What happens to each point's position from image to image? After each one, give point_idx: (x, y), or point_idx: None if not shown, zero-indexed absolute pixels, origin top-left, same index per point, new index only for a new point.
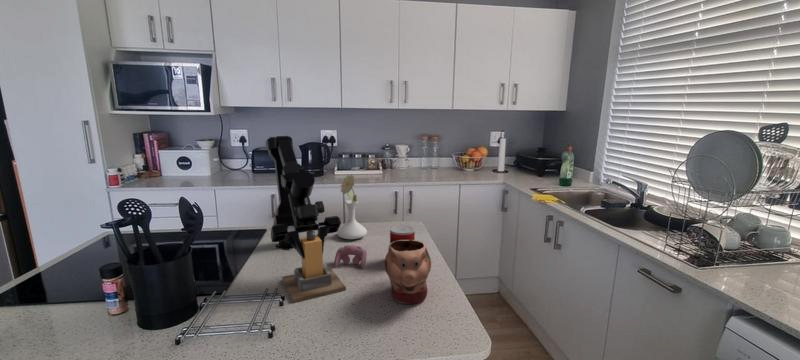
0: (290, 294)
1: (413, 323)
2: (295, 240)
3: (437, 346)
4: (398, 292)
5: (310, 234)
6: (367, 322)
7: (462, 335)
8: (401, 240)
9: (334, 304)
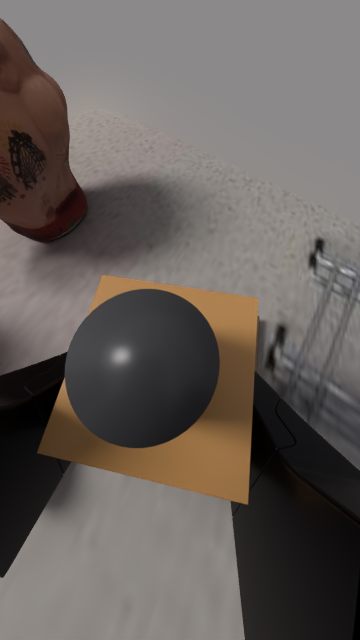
0: (257, 344)
1: (114, 163)
2: (328, 453)
3: (128, 126)
4: (76, 181)
5: (178, 304)
6: (165, 194)
7: (89, 125)
8: None
9: (180, 264)
